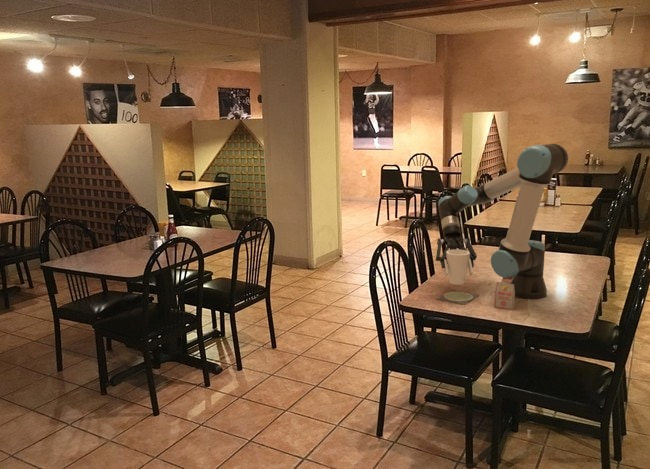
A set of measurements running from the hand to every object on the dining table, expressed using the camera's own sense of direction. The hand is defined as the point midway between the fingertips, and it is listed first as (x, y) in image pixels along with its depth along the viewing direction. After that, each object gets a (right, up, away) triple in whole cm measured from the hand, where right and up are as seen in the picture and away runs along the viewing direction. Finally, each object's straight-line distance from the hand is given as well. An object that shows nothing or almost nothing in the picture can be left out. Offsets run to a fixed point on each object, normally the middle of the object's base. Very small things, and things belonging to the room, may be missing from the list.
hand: (459, 274), depth 234 cm
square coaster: (+1, -10, +5) cm, 11 cm away
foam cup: (0, -4, +4) cm, 6 cm away
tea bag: (+16, -13, -8) cm, 22 cm away
